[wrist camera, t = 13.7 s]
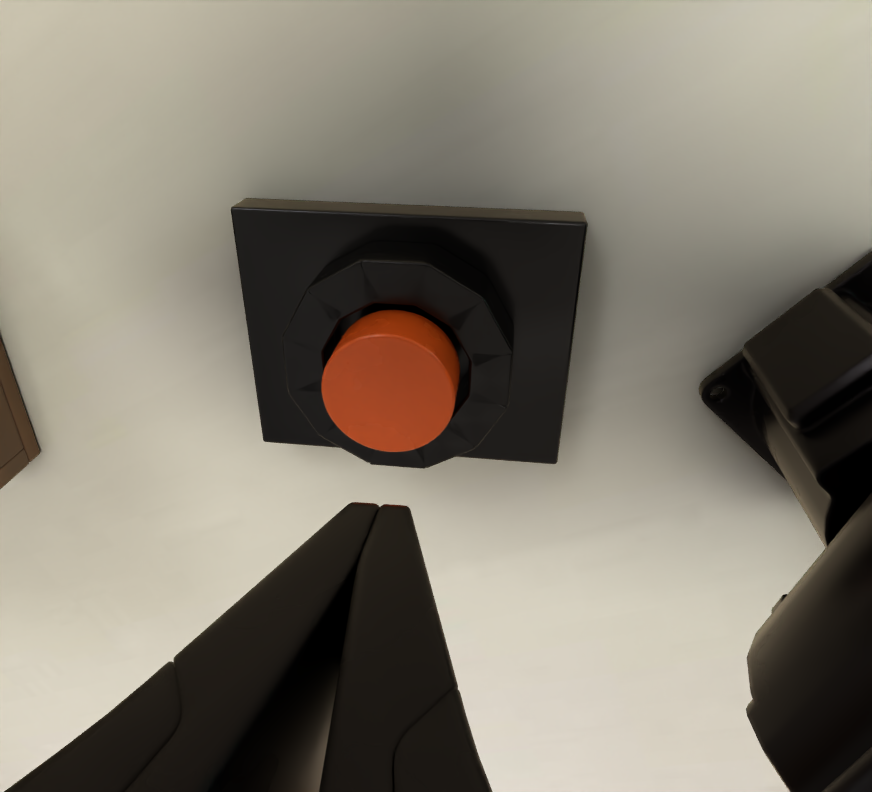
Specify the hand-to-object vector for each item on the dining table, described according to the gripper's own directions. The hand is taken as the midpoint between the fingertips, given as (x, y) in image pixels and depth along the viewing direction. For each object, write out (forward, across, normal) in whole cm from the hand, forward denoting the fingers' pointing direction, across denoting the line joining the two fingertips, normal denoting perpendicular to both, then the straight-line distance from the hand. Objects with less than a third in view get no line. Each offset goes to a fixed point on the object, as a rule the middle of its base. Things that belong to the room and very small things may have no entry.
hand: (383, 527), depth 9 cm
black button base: (+12, +2, +2) cm, 12 cm away
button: (+10, +2, +2) cm, 10 cm away
